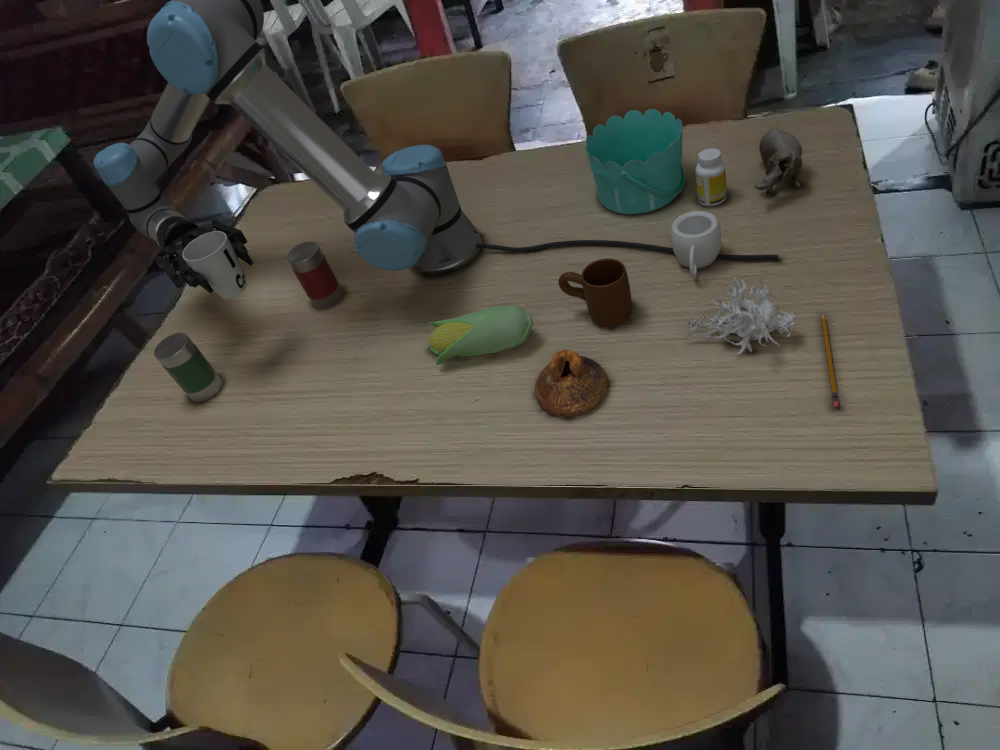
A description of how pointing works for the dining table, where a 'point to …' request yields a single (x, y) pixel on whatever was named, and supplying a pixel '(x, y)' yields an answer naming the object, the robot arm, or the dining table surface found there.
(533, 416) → the dining table surface
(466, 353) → the corn
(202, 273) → the cup
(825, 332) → the pencil
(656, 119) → the bucket
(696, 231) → the mug
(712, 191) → the supplement bottle
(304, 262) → the maroon can
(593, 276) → the mug
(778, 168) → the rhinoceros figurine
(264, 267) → the dining table surface
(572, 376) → the bell
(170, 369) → the green can
